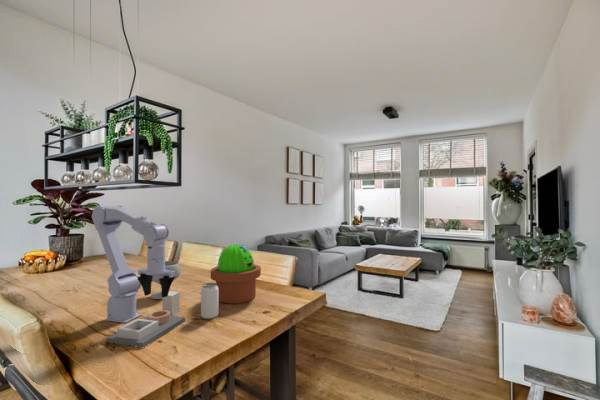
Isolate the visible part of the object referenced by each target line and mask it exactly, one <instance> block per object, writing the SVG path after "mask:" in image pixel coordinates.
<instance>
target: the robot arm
mask: <svg viewBox="0 0 600 400" xmlns="http://www.w3.org/2000/svg"><path fill="white" fill-rule="evenodd" d="M91 219H92V221H93V222H92V223H93V225H94V228H95V230H97V233H98V237H99V239H100V243H101V244H102V248H103V249H104V253H105V256H106V259H107V261H108V264H109V266H110V269H111V272H112V273H111V275H109V276H108V278H107V280H106V281H107V285H108V293H109V294H110V296H109V298H108V299H107V303H106V307H107V308H106V314H107V315H106V318H104V319H105V321H108V322H115V323H122V324H126V323H129V322H130V321H133V320H134V319H136V318H139V317H140V316H142V314H143V313H142V312H141V313H139V312H137V294H138V293H139V291H140V289H141V288H142V290H143V294H144V296H145V297H146V296H149V295H152V293H151V292H152V282H153V281H152V278H153V276H164V278H160V279H159V281H160V284H161V285H160V284H159V285H160V288H161V291H162V297H163V298H164V297H166V296H168V293H169V290H170V288H171V287H172V286H171V285H172V283H173V282H174V281H175V280H174V278H175V271H171V270H167V269H165V261H166V239H167V238H168V237H169V234H170V233H169V232H170V231H169V229H168V228H169V227H168V226H166V225H165V224H164V223H159V224H157V223H156V222H155V221H152V220H149V219H148V217H147V216H145V215H142V216H137V215H134V214H133V213H131V212H130V211H128V210H127V208H126V207H125V206H122V205H108V206H105V205H103V206H102V205H97V206H95V207H94V209H93V211H92V214H91ZM122 222H123V223H126V224H128V225H130V226H131V229H132V230H133V231H135V232H136V233H138V234H140V235H141V236H143V238H144V240H145V245H146V247H147V249H146V250H147V253H146V254H147V256H146V257H147V258H146V259H147V267H146V268H140V269H137V271H136V270H135V269H133V268H131V267H129V266H128V263H127V260H126V258H125V254H124V252H123V249H122V247H121V245H120V241H119V239H118V237H117V236H118V235H117V234H116V230H117V229H119V228H120V226H121V224H122ZM173 280H174V281H173Z"/></svg>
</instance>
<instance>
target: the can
mask: <svg viewBox="0 0 600 400" xmlns="http://www.w3.org/2000/svg"><path fill="white" fill-rule="evenodd" d="M218 315H219V301H218V286H217V284H216V282H208V283H205V284H204V283H203V284H202V285H201V289H200V317H201V318H202V319H205V320H211V319H215V318H217V317H218Z"/></svg>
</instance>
